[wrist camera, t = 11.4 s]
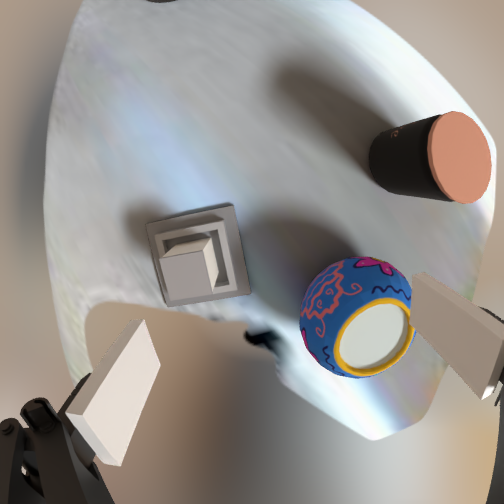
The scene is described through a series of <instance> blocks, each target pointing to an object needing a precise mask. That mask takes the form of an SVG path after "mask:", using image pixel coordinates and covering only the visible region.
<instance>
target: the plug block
mask: <svg viewBox="0 0 504 504" xmlns="http://www.w3.org/2000/svg"><path fill="white" fill-rule="evenodd" d="M159 261H160V265H161V269H162V272H163V276H164V280H165V283H166V287H167V291H168V294H169V298H170V301H172V300H178V299H185V298H192V297H198V296H205V295H211V294H213V289H214V285H215V282H216V279H217V276H218V273H219V271H218V267H217V262H216V258H215V253H214V248H213V244H212V239H211V238H206V239H200V240H195V241H190V242H185V243H179V244H176V245H175V246H174V247H173V248H172V249H170V250H169V251H168V252H167V253H166V254H165V255H164V256H163V257H162V258H160V259H159Z"/></svg>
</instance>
